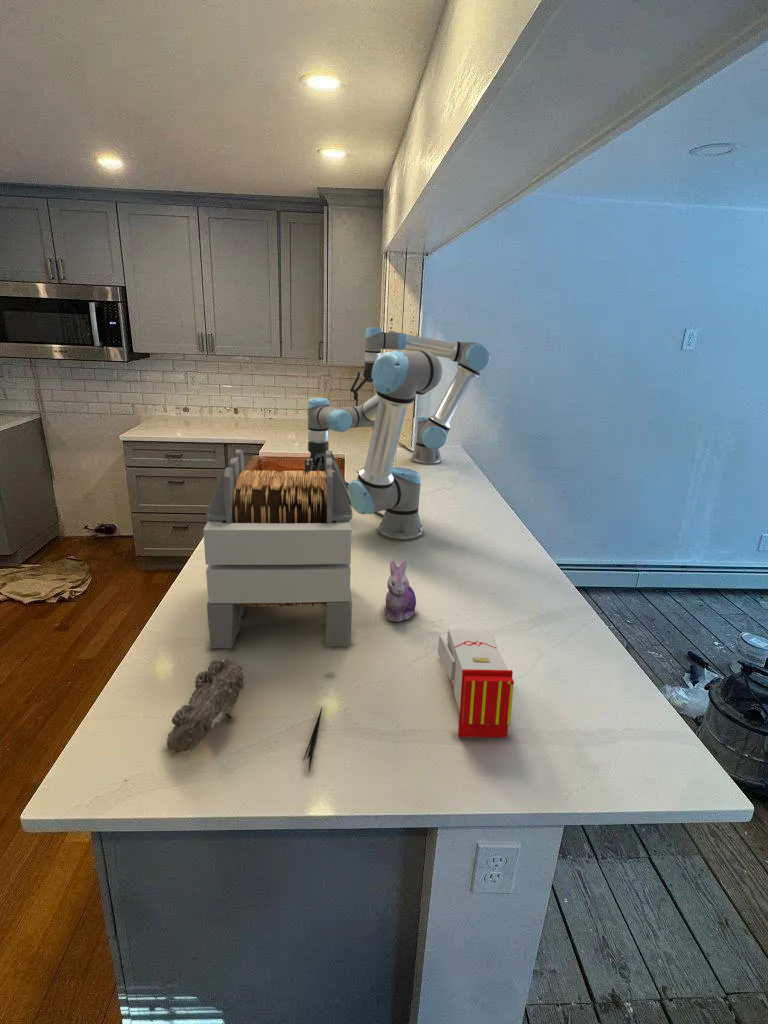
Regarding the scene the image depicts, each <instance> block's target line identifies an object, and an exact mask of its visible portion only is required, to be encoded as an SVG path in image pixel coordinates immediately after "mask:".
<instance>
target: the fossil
mask: <svg viewBox="0 0 768 1024" xmlns="http://www.w3.org/2000/svg"><path fill="white" fill-rule="evenodd" d="M243 670H244V669H243V667H242V665H240V664H237V662H236V661H235V660H234V659H232V658H231V659H227V658H226V659H224V660H223V661H222V660H217V659H212V660H211V661H210V663H209V665H208V666H207V671H201V672H199V673H198V674H197V675H196V676H195V680H194V684H195V685H194V687H195V689H194V690H193V693H192V694H191V697H190V698H189V700H188V704H184V705H182V706H181V707H180V709H177V710H176V711H175V713H174V715H173V716H172V718H171V723H172V724H173V727H172V730H171V731H170V732H168V734H167V738H166V741H167V742H166V745H167V749H168V750H169V751H173V752H174V753H176V754H178V753H182V752H188V751H189V752H192V751H193V750H195V748H196V747H197V746H199V744H200V743H201V742H203V741H204V740H205V739H206V738H207V737H208V736H209V735H210V734H211V733H212V732H214V730H215V729H217V727H218V726H219V724H220V722H221V721H222V720H223V719H224V718H225V716H226V717H227V719H229V720H233V717H232V715H230V714H229V710H230V709H231V708H234V706H235V704H236V703H237V702H238V699H239V697H240V695H241V693H242V691H243V690H245V689H244V688H245V675H244V671H243Z"/></svg>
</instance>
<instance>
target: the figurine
mask: <svg viewBox="0 0 768 1024" xmlns="http://www.w3.org/2000/svg"><path fill="white" fill-rule="evenodd" d="M407 567H408V559H406V558H404V559H403V560H402V561H401V563H400V565H399V566H398V565H397V563H396V562H395V561H394V560H393V559H391V560H390V561H389V570H390V576H389V578H388V579H387V589H388V591H387V592H386V594H385V595H386V596H385V607H384V615H385V616H386V620H387V621H391V622H395V623H400V622H402V621H406V620H409V619H410V618H411V617H413V616H414V615H415V610H416V606H417V597H416V593H415V591H414V590H413V587H411V586H410V582H409V579H408V577H407V574H406V571H407Z"/></svg>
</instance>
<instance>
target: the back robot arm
mask: <svg viewBox="0 0 768 1024" xmlns="http://www.w3.org/2000/svg"><path fill="white" fill-rule="evenodd" d="M382 350H391V351H392V350H393V351H428V352H430V353H432V354H434V355H435V356H436V357H438V358H439V357H440V358H445V359H450V360H451V362H455V363H457V365H456V366H457V372H456V373H455V375H454V377H453V379H452V381H451V383H450V384H449V386H448V388H447V390H446V392H445V394H444V396H443V398H442V399H441V402H440V403H439V404H438V407H437V409H436V411H435V413H434V414H433V415H430V416H420V417H418V418H417V422H416V424H417V427H416V441H415V442H416V443H415V448H414V449H413V450H412V449H410V448H409V447H407V446H406V445H404V444H403V445H402V444H401V446H402V447H403V448H404V449H406V450H407V451H409V452H411V453H412V455H411V462H413V463H416V464H422V465H437V464H440V463H441V462H442V457H441V453H440V452H441V451H440V449H441V448H442V447H443V446H444V445H445V444H446V442H447V438H448V436H447V435H448V434H449V432H450V430H451V421H452V420H453V418H454V416H455V414H456V412H457V410H458V409H459V407H460V405H461V403H462V401H463V400H464V398H465V396H466V395H467V393H468V391H469V389H470V388H471V384H472V383H473V381H474V379H476V378H479V377H480V375H481V373H482V372H483V370H485V369H486V367H488V365H490V361H491V353H490V351H489V349H488V347H487V346H485V345H484V344H481V343H480V342H479V343H477V342H474V341H473V342H465V341H458V340H455V341H454V342H451V341H445V340H441V339H434V338H430V337H424V336H418V335H414V334H409V333H406V332H405V333H404V332H397V331H394V330H389V331H388V332H383V329H382V327H375V326H373V327H372V326H368V327H366V328H365V335H364V361H365V362H364V363H363V364H364V365H363V366H364V367H363V372H361V371H357V374H356V378H355V380H354V381H353V384H352V385H351V387H350V389H349V391H350V392H352V393H353V400H354V401H355V406H359V392H358V391H359V390H361V388H362V387H363V386H364V385H365V384H366V383H372V382H373V379H372V369H373V365H374V363H375V361H376V360H377V358H378V357H379V356H380V355H382ZM362 376H363V377H364V379H363V380H362V381H361V383H360V384H359V385H358V386H357V387H356V385H357V383H358V382H359V379H360V378H361V377H362ZM355 387H356V388H355Z"/></svg>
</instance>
